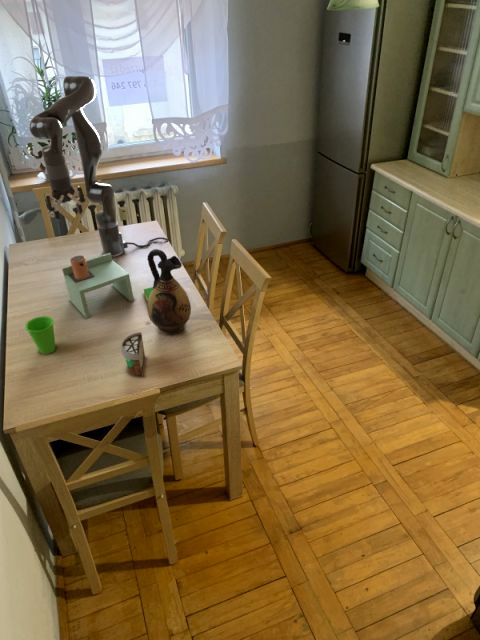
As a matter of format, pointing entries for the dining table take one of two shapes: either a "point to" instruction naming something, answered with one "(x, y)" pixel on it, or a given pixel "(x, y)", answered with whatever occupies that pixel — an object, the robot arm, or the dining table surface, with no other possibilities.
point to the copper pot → (79, 267)
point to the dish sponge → (148, 292)
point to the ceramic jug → (167, 296)
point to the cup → (42, 333)
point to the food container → (134, 353)
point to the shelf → (97, 281)
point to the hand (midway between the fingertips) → (69, 216)
